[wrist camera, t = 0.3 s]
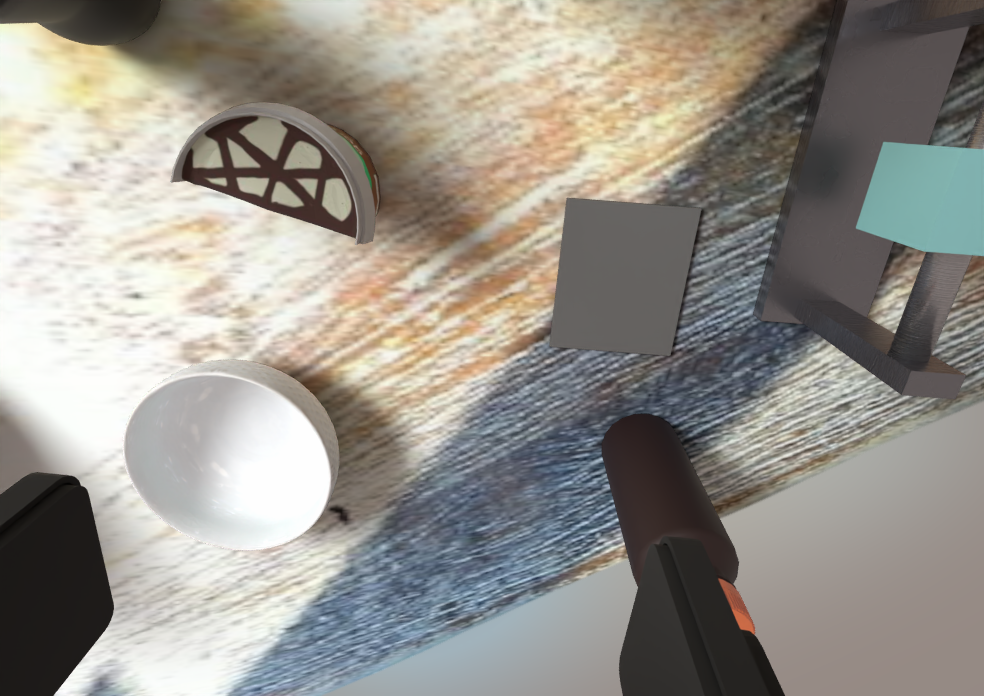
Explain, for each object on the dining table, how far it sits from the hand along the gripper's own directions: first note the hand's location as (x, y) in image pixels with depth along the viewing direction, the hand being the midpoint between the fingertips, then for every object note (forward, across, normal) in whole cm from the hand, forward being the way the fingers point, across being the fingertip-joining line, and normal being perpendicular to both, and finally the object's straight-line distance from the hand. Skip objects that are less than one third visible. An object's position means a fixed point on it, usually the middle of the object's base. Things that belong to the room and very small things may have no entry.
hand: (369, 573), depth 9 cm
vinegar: (+36, -16, +19) cm, 44 cm away
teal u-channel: (+28, -26, -6) cm, 39 cm away
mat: (+36, -11, +4) cm, 38 cm away
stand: (+36, -26, -6) cm, 45 cm away
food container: (+36, +12, -4) cm, 38 cm away
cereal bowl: (+36, +18, +21) cm, 46 cm away
